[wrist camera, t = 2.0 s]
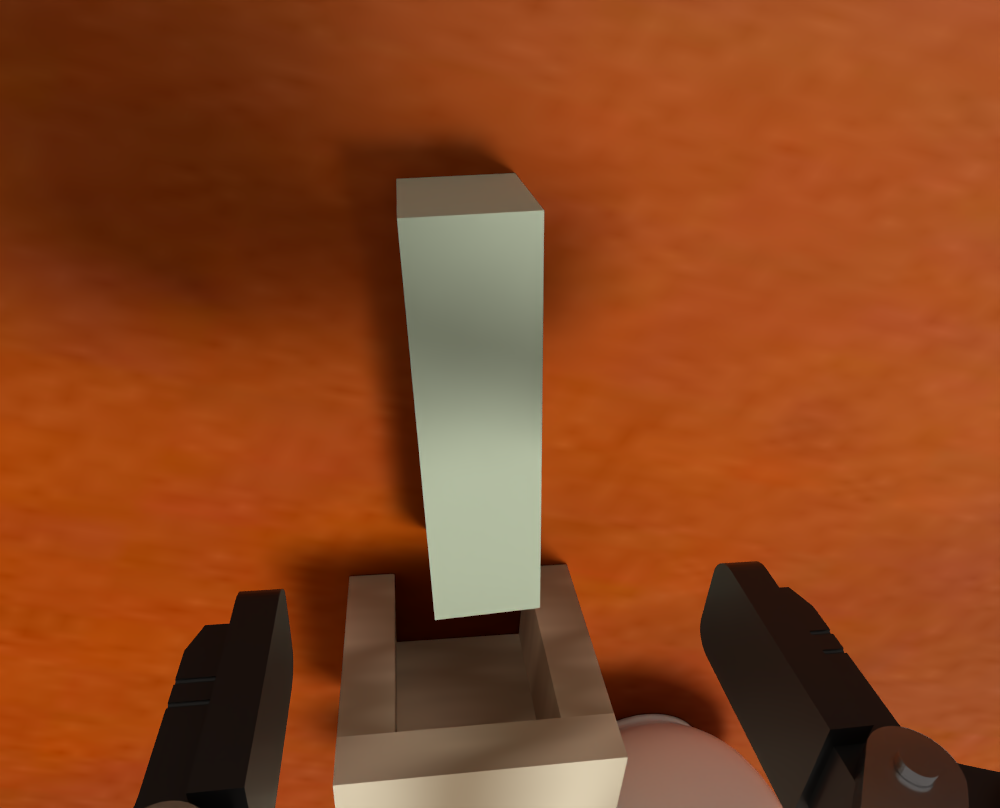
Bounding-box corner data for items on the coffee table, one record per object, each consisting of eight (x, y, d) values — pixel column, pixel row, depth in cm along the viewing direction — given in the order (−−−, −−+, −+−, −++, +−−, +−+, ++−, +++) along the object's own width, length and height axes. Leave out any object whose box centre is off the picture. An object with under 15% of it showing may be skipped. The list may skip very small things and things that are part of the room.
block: (566, 564, 26) (628, 756, 19) (552, 673, 29) (601, 874, 22) (349, 576, 25) (332, 785, 18) (357, 689, 28) (345, 905, 21)
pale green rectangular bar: (513, 171, 19) (543, 210, 15) (517, 517, 25) (540, 607, 21) (396, 177, 18) (397, 218, 15) (428, 526, 24) (434, 620, 21)
